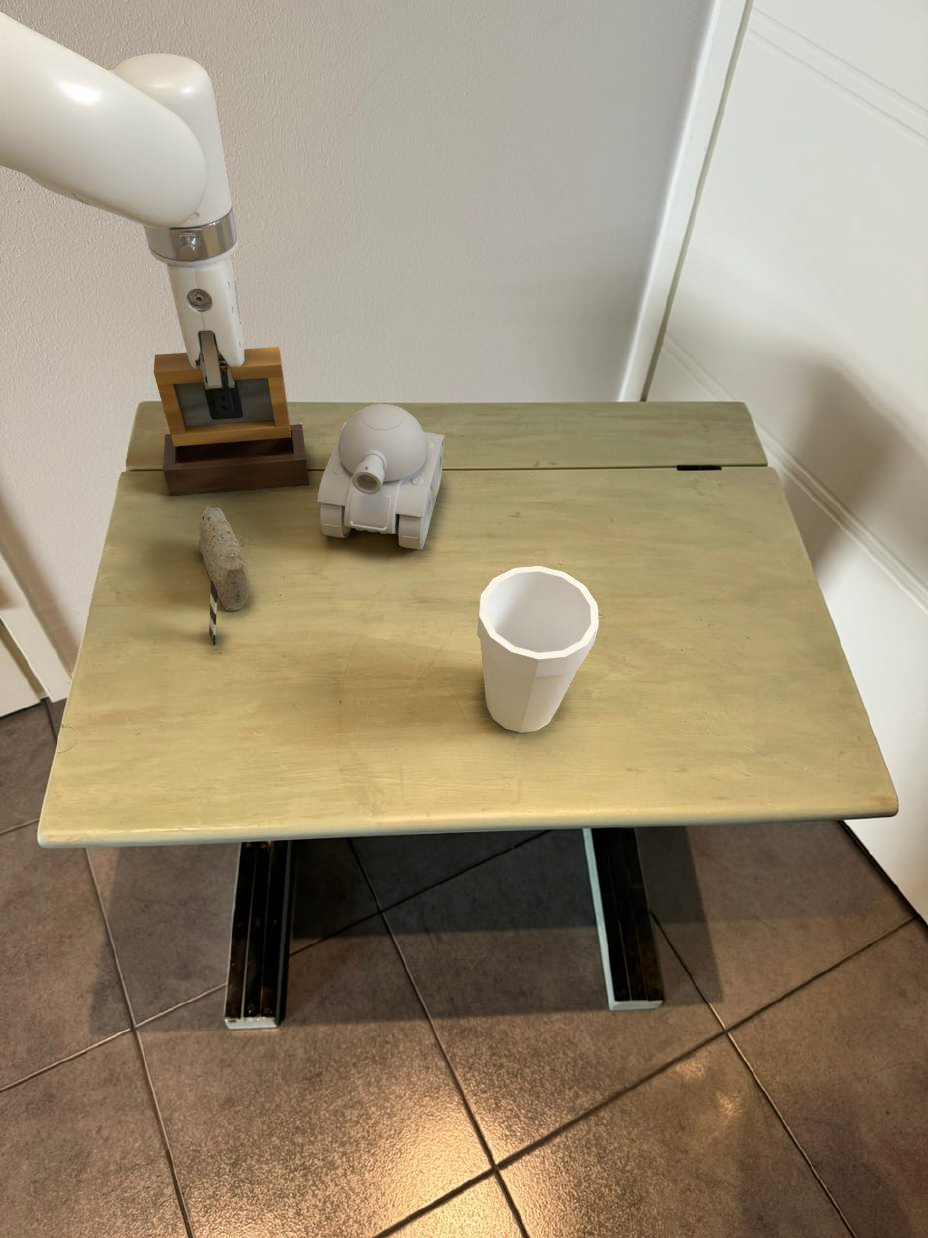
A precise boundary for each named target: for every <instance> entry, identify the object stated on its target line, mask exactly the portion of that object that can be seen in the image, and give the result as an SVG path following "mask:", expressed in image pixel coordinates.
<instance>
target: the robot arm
mask: <svg viewBox="0 0 928 1238" xmlns="http://www.w3.org/2000/svg"><path fill="white" fill-rule="evenodd" d="M214 91H215V90H214V87H213V83H212V80H211V78H210V76H209V73H208V72H207V71H206V69H205V68H204V67H203V66H202V65H201V64H200V63H199V62H197V61H196V60H194V59H192V58H189V57H187V56H183V55H179V54H174V53H173V54H172V53H156V52H155V53H147V54H140V55H136V56H132V57H130V58H127V59H125V60H122V61H121V62H120V63H118V64H117V65H116V66H115V67H114V68H112V69H109V70H108V69H105V68H104V67H102V66H100V65H99V64H97V63H95V62H94V61H92V60H89V59H88V58H86V57H85V56H82V55H81V54H79V53H77V52H75V51H74V50H71V49H69V48H67V47H66V46H64V45H62V44H60V43H58V42H57V41H55V40H52V39H51V38H49V37H47V36H45V35H44V34H41V33H40V32H37V30H36V31H35V30H34V29H32V28H30V27H29V26H26V25H25V24H23V23H21V22H19V21H18V20H16V19H14V18H12V17H10V16H9V15H7V14H6V13H4V12H2V11H1V10H0V167H4V168H7V169H10V170H11V171H12V170H13V171H16V172H17V173H21V174H24V175H26V176H27V177H29V178H30V180H32V181H33V182H35V183H36V184H37V185H39V186H41V187H42V188H44V189H45V190H48V191H50V192H53V193H55V194H57V195H60V196H63V197H65V198H68V199H70V200H73V201H76V202H78V203H81V204H84V205H87V206H91V207H93V208H97V209H99V210H102V211H105V212H106V213H107V212H108V213H110V214H113V215H115V216H118V217H121V218H124V219H126V220H129V221H130V222H133V223H136V224H138V225H141V226H143V229H144V233H145V237H146V241H147V246H148V249H149V252H150V255H152V257H153V258H155V259H156V260H157V261H159V262H160V263H163V264H165V265H166V270H167V275H168V279H169V283H170V289H171V292H172V297H173V301H174V306H175V310H176V314H177V319H178V322H179V323H178V324H179V327H180V331H181V335H182V340H183V343H184V347H185V350H186V353H187V355H188V358H189V361H190V364H191V366H192V367H194V368H195V369H197V370H198V368H199V367H200V366H201V371H202V375H203V380H204V391H205V395H206V400H207V404H208V408H209V413H210V417H211V419H213V420H222V419H235V418H242V417H243V410H242V404H241V399H240V394H239V388H238V383H237V382H234V377H233V372H232V367H235V366H237V367H241V366H242V364H243V363H244V349H245V337H244V336H245V334H244V333H245V332H244V321H243V320H244V319H243V314H242V313H243V312H242V308H241V304H240V297H239V294H238V290H237V283H236V279H235V272H234V267H233V262H232V258H231V256H232V255H233V254H235V252H236V251H237V250H238V247H239V238H238V232H237V226H236V220H235V215H234V214H235V213H234V208H233V207H234V206H233V202H232V194H231V190H230V184H229V177H228V172H227V171H228V170H227V166H226V160H225V152H224V147H223V140H222V135H221V134H222V133H221V128H220V122H219V121H220V120H219V115H218V108H217V103H216V96H215V92H214ZM220 366H225V370H226V373H225V372H221V370H220Z"/></svg>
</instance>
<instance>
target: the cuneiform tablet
mask: <svg viewBox="0 0 928 1238" xmlns="http://www.w3.org/2000/svg"><path fill="white" fill-rule="evenodd" d="M199 531H200V532H199V540H198V547H199V550H200V551H199V552H200V553H201V555H202V557H203V562H204V566H205V568H206V571H207V574H208V576H209V578H210V587H209V589H210V592H209V593H210V594H209V596H210V597H209V631H208V635H209V637H210V640H211V642H212V645H213V646H216V636H217V635H216V634H217V611H218V610H217V609H218V607H217V606H218V598H219V600H220V603H221V605H222V606H223V607H224V609H225V610H226V611H228V612H235V611H240V610H242V609H243V608H244V606H245V605H246V603H247V601H248V599H249V596H250V589H251V587H250V583H251V582H250V581H251V580H250V578H249V570H248V568H247V565H246V561H245V558H244V555H243V552H242V548H241V546H240V543H239V541H238V538H237V537H236V535H235V532H234V530H233V529H232V527H231V524H230V523H229V521H228V520H227V518H226V515H225V513H224V512H223V510H222V509H221V508H220V507H218V506H214V507H211V506H205V507H203V509H202V511H201V514H200V529H199Z"/></svg>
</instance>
